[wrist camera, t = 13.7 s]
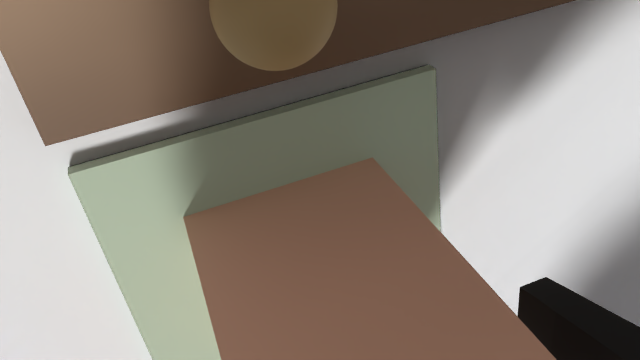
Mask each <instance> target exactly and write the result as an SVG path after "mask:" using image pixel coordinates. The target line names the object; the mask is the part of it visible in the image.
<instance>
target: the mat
mask: <svg viewBox="0 0 640 360" xmlns="http://www.w3.org/2000/svg"><path fill="white" fill-rule="evenodd" d="M372 157H373V158H374V159H375V161H376V162H377V163H378V164H379V165H380V166H381V167H382V168H383V169H384V170H385V172H386V173H387V174H388V175H389V176H390V177H391V178H392V179H393V180H394V181H395V183H396V184H397V185H398V186H399V187H400V188H401V189H402V190H403V191H404V192H405V194H406V195H407V196H408V197H409V198H410V199H411V200H412V201H413V202H414V203H415V205H416V206H417V207H418V208H419V209H420V210H421V211H422V212H423V213H424V214H425V216H426V217H427V218H428V219H429V220H430V221H431V222H432V223H433V224H434V225H435V227H436V228H437V229H438V230H439V231H440V198H439V163H438V128H437V93H436V69H435V68H434V67H432V66H431V65H426V66H422V67H419V68H415V69H412V70H408V71H405V72H401V73H398V74H394V75H391V76H387V77H384V78H380V79H377V80H373V81H370V82H366V83H363V84H359V85H356V86H352V87H349V88H345V89H342V90H338V91H335V92H331V93H328V94H324V95H321V96H317V97H314V98H310V99H307V100H303V101H300V102H296V103H293V104H289V105H286V106H282V107H279V108H275V109H272V110H268V111H264V112H261V113H257V114H254V115H250V116H247V117H243V118H240V119H236V120H233V121H229V122H226V123H222V124H219V125H215V126H212V127H208V128H205V129H201V130H198V131H194V132H191V133H187V134H184V135H180V136H177V137H173V138H170V139H166V140H163V141H159V142H156V143H152V144H149V145H145V146H142V147H138V148H135V149H131V150H128V151H124V152H121V153H117V154H114V155H110V156H107V157H103V158H100V159H96V160H92V161H89V162H85V163H82V164H78V165H75V166H71V167H68V176H69V178H70V180H71V183H72V185H73V187H74V189H75V191H76V193H77V196H78V198H79V200H80V202H81V204H82V207H83V209H84V211H85V213H86V215H87V217H88V220H89V222H90V224H91V226H92V228H93V231H94V233H95V235H96V237H97V239H98V242H99V244H100V246H101V248H102V250H103V252H104V255H105V257H106V259H107V261H108V263H109V266H110V268H111V270H112V272H113V274H114V276H115V279H116V281H117V283H118V285H119V287H120V290H121V292H122V294H123V296H124V298H125V301H126V303H127V305H128V307H129V309H130V311H131V314H132V316H133V318H134V320H135V322H136V325H137V327H138V329H139V331H140V333H141V335H142V338H143V340H144V342H145V344H146V346H147V349H148V351H149V353H150V355H151V357H152V360H221V357H220V353H219V349H218V346H217V342H216V338H215V335H214V331H213V327H212V323H211V320H210V316H209V312H208V308H207V305H206V301H205V297H204V294H203V290H202V286H201V282H200V279H199V275H198V271H197V267H196V264H195V260H194V256H193V252H192V249H191V245H190V241H189V238H188V234H187V230H186V226H185V223H184V219H183V217H185V216H188V215H191V214H194V213H197V212H201V211H204V210H207V209H210V208H213V207H216V206H220V205H223V204H226V203H229V202H232V201H235V200H239V199H242V198H245V197H248V196H251V195H254V194H258V193H261V192H264V191H267V190H270V189H274V188H277V187H280V186H283V185H286V184H289V183H293V182H296V181H299V180H302V179H305V178H308V177H312V176H315V175H318V174H321V173H324V172H328V171H331V170H334V169H337V168H340V167H343V166H347V165H350V164H353V163H356V162H359V161H362V160H366V159H369V158H372Z"/></svg>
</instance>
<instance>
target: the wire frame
mask: <svg viewBox="0 0 640 360" xmlns="http://www.w3.org/2000/svg"><path fill="white" fill-rule="evenodd" d="M571 1H575V0H0V50H1V53H2V55H3V57H4V59H5V61H6V63H7V65H8V67H9V70H10V72H11V74H12V76H13V78H14V80H15V82H16V85H17V87H18V89H19V91H20V93H21V95H22V97H23V100H24V102H25V104H26V106H27V108H28V110H29V112H30V114H31V117H32V119H33V121H34V123H35V125H36V127H37V129H38V132H39V134H40V136H41V138H42V140H43V142H44V144H45V146H48V145H51V144H55V143H59V142H62V141H66V140H69V139H73V138H77V137H80V136H84V135H88V134H91V133H95V132H99V131H102V130H106V129H109V128H113V127H117V126H120V125H124V124H128V123H131V122H135V121H139V120H142V119H146V118H149V117H153V116H157V115H160V114H164V113H168V112H171V111H175V110H179V109H182V108H186V107H189V106H193V105H197V104H200V103H204V102H208V101H211V100H215V99H219V98H222V97H226V96H229V95H233V94H237V93H240V92H244V91H248V90H251V89H255V88H259V87H262V86H266V85H269V84H273V83H277V82H280V81H284V80H288V79H291V78H295V77H299V76H302V75H306V74H309V73H313V72H317V71H320V70H324V69H328V68H331V67H335V66H339V65H342V64H346V63H349V62H353V61H357V60H360V59H364V58H368V57H371V56H375V55H379V54H382V53H386V52H389V51H393V50H397V49H400V48H404V47H408V46H411V45H415V44H419V43H422V42H426V41H429V40H433V39H437V38H440V37H444V36H448V35H451V34H455V33H459V32H462V31H466V30H469V29H473V28H477V27H480V26H484V25H488V24H491V23H495V22H499V21H502V20H506V19H509V18H513V17H517V16H520V15H524V14H528V13H531V12H535V11H539V10H542V9H546V8H549V7H553V6H557V5H560V4H564V3H568V2H571Z"/></svg>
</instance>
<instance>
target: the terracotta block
mask: <svg viewBox="0 0 640 360" xmlns="http://www.w3.org/2000/svg"><path fill="white" fill-rule="evenodd" d="M183 219H184V223H185V226H186V230H187V234H188V238H189V241H190V245H191V249H192V252H193V256H194V260H195V264H196V267H197V271H198V275H199V279H200V282H201V286H202V290H203V294H204V297H205V301H206V305H207V308H208V312H209V316H210V320H211V323H212V327H213V331H214V335H215V338H216V342H217V346H218V349H219V353H220V357H221V360H556V358H555V357H554V356H553V355H552V354H551V353H550V352H549V351H548V350H547V349H546V347H545V346H544V345H543V344H542V343H541V342H540V341H539V340H538V339H537V338H536V336H535V335H534V334H533V333H532V332H531V331H530V330H529V329H528V328H527V327H526V325H525V324H524V323H523V322H522V321H521V320H520V319H519V318H518V317H517V316H516V315H515V313H514V312H513V311H512V310H511V309H510V308H509V307H508V306H507V305H506V304H505V302H504V301H503V300H502V299H501V298H500V297H499V296H498V295H497V294H496V293H495V291H494V290H493V289H492V288H491V287H490V286H489V285H488V284H487V283H486V282H485V280H484V279H483V278H482V277H481V276H480V275H479V274H478V273H477V272H476V271H475V269H474V268H473V267H472V266H471V265H470V264H469V263H468V262H467V261H466V260H465V258H464V257H463V256H462V255H461V254H460V253H459V252H458V251H457V250H456V249H455V247H454V246H453V245H452V244H451V243H450V242H449V241H448V240H447V239H446V238H445V236H444V235H443V234H442V233H441V232H440V231H439V230H438V229H437V228H436V227H435V225H434V224H433V223H432V222H431V221H430V220H429V219H428V218H427V217H426V216H425V214H424V213H423V212H422V211H421V210H420V209H419V208H418V207H417V206H416V205H415V203H414V202H413V201H412V200H411V199H410V198H409V197H408V196H407V195H406V194H405V192H404V191H403V190H402V189H401V188H400V187H399V186H398V185H397V184H396V183H395V181H394V180H393V179H392V178H391V177H390V176H389V175H388V174H387V173H386V172H385V170H384V169H383V168H382V167H381V166H380V165H379V164H378V163H377V162H376V161H375V159H374V158H373V157H372V158H369V159H366V160H362V161H359V162H356V163H353V164H350V165H347V166H343V167H340V168H337V169H334V170H331V171H328V172H324V173H321V174H318V175H315V176H312V177H308V178H305V179H302V180H299V181H296V182H293V183H289V184H286V185H283V186H280V187H277V188H274V189H270V190H267V191H264V192H261V193H258V194H254V195H251V196H248V197H245V198H242V199H239V200H235V201H232V202H229V203H226V204H223V205H220V206H216V207H213V208H210V209H207V210H204V211H201V212H197V213H194V214H191V215H188V216H185V217H183Z"/></svg>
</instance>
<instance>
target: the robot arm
mask: <svg viewBox="0 0 640 360" xmlns="http://www.w3.org/2000/svg"><path fill="white" fill-rule="evenodd" d="M518 318H519V319H520V320H521V321H522V322H523V323H524V324H525V325H526V327H527V328H528V329H529V330H530V331H531V332H532V333H533V334H534V335H535V336H536V338H537V339H538V340H539V341H540V342H541V343H542V344H543V345H544V346H545V347H546V349H547V350H548V351H549V352H550V353H551V354H552V355H553V356H554V357H555V358H556V360H640V327H638V326H636V325H635V324H633V323H631V322H629V321H627V320H625V319H623V318H621V317H619V316H618V315H616V314H614V313H612V312H610V311H608V310H606V309H605V308H603V307H601V306H599V305H597V304H595V303H593V302H592V301H590V300H588V299H586V298H584V297H582V296H581V295H579V294H577V293H575V292H573V291H571V290H569V289H568V288H566V287H564V286H562V285H560V284H558V283H556V282H555V281H553V280H551V279H549V278H547V277H545V278H542V279H540V280H537V281H535V282H532V283H530V284H527V285H524V286H522V287H520V293H519V307H518Z"/></svg>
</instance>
